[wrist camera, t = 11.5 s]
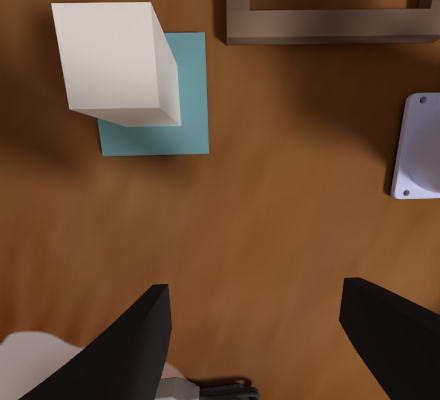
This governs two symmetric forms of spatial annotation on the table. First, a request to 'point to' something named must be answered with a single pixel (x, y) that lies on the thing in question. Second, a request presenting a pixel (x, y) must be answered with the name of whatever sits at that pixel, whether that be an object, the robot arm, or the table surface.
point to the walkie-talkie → (202, 391)
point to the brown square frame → (331, 25)
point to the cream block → (117, 63)
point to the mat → (189, 110)
